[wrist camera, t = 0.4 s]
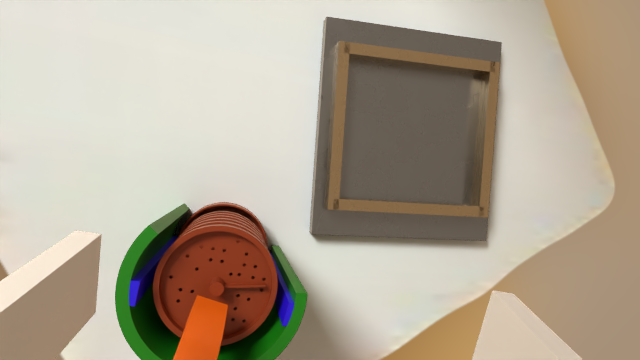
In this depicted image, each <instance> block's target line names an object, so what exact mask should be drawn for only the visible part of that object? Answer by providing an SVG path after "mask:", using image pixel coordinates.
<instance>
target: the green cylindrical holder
mask: <svg viewBox="0 0 640 360" xmlns="http://www.w3.org/2000/svg"><path fill="white" fill-rule="evenodd" d="M188 210H189V208H188V207H187V206H186V205H185V204H183V205H181V206H179V207H178V208H176V209H175V210H173V211H171V212H170V213H168V214H166V215H165V216H163V217H162V218H160V219H158V220H157V221H155V222H153V223H152V224H150V225H149V226H148V227H147V228H146V229H145V230H144V231H143V232H142V233H141V234H140V235H139V236H138V237H137V238H136V240H135V241H134V242H133V244H132V245H131V247H130V248H129V250H128V252H127V254H126V256H125V258H124V260H123V262H122V264H121V267H120V270H119V274H118V278H117V283H116V291H115V304H116V312H117V317H118V321H119V325H120V327H121V330H122V333H123V335H124V337H125V339H126V341H127V342H128V344H129V345H130V347H131V348H132V350H133V351H134V352H135V354H136V355H137V356H138V357H139V358H140V359H141V360H274V359H275V358H276V357H277V356H279V354H280V353H281V352H282V351H283V350H284V349H285V348H286V347H287V345H288V344H289V343H290V341H291V340H292V338H293V337H294V335H295V333H296V331H297V329H298V327H299V325H300V323H301V320H302V318H303V314H304V311H305V307H306V301H307V292H306V291H305V289H304V287H303V286H302V284H301V282H300V281H299V279H298V277H297V276H296V274H295V272H294V271H293V269H292V267H291V266H290V264H289V262H288V261H287V259H286V257H285V256H284V254H283V252H282V251H281V249H280V247H279V246H274V245H272V248H271V252H269V250H268V248H267V239H266V235H265V232H264V229H263V227H262V225H261V223H260V222H259V220H258V219H257V218H256V216H255V215H254V214H253V213H252V212H250V211H249V210H248V209H246V208H244V207H242V206H240V205H237V204H234V203H228V202H220V203H214V204H210V205H207V206H205V207H203V208H201V209H200V210H198V211H197V212H195V213H194V214H193V215H192V216H191V217H190V218H189V219H188V220H187V221H186V223H185V224H184V225H183V227H182V229H181V231H180V233H179V235H178V236H174V232H175V229H176V227H177V225H178V223H179V221H180V219H181V218H182V216H183V215H184V214H185V213H186V212H187V211H188Z"/></svg>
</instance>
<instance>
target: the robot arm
mask: <svg viewBox="0 0 640 360" xmlns="http://www.w3.org/2000/svg"><path fill="white" fill-rule="evenodd" d="M100 246H101V234H97V233H90V232H83V231H75V232H73V233H72V234H70V235H69V236H67V237H66V238H64V239H63V240H61V241H60V242H58V243H57V244H55V245H54V246H52V247H51V248H49V249H48V250H46V251H45V252H43V253H42V254H40V255H39V256H37V257H36V258H34V259H33V260H31V261H30V262H28V263H27V264H25V265H24V266H22V267H21V268H19V269H18V270H16V271H15V272H13V273H12V274H10V275H9V276H7V277H6V278H4V279H3V280H2V281H0V360H55V358H56V357H57V356H58V355H59V354H60V353H61V351H62V350H63V349H64V348H65V347H66V346H67V345H68V343H69V342H70V341H71V340H72V339H73V338H74V336H75V335H76V334H77V333H78V332H79V331H80V330H81V328H82V327H83V326H84V325H85V324H86V323H87V322H88V320H89V319H90V318H91V317H92V316H93V315H94V313H95V312H96V299H97V286H98V272H99V259H100ZM472 360H583V359H582V358H581V357H580V356H578V355H577V354H576V353H575V352H574V351H573V350H572V349H571V348H570V347H569V346H568V345H567V344H566V343H565V342H564V341H563V340H562V339H561V338H560V337H558V336H557V335H556V334H555V333H554V332H553V331H552V330H551V329H550V328H549V327H548V326H546V324H545V323H544V322H542V320H541V319H539V318H538V317H537V316H536V315H535V314H534V313H533V312H532V311H531V310H530V309H529V308H528V307H527V306H526V305H525V304H524V303H522V302H521V301H520V300H519V299H518V298H517V297H516V296H515V295H514V294H513V293H506V292H499V291H492V294H491V297H490V301H489V304H488V307H487V311H486V314H485V318H484V321H483V324H482V328H481V331H480V335H479V338H478V341H477V344H476V348H475V351H474V355H473V358H472Z"/></svg>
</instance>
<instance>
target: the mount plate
mask: <svg viewBox="0 0 640 360" xmlns="http://www.w3.org/2000/svg"><path fill="white" fill-rule="evenodd" d="M501 43H502V42H496V41H489V40H482V39H475V38H468V37H461V36H455V35H448V34H441V33H434V32H427V31H421V30H414V29H407V28H400V27H393V26H387V25H380V24H373V23H366V22H359V21H352V20H346V19H339V18H332V17H326V19H325V20H324V27H323V41H322V56H321V71H320V85H319V100H318V114H317V129H316V143H315V158H314V172H313V187H312V202H311V216H310V231H309V232H310V233H311V234H320V235H346V236H373V237H400V238H426V239H453V240H480V241H486V236H487V223H488V212H489V199H490V186H491V173H492V160H493V148H494V135H495V122H496V109H497V96H498V83H499V70H500V56H501Z"/></svg>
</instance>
